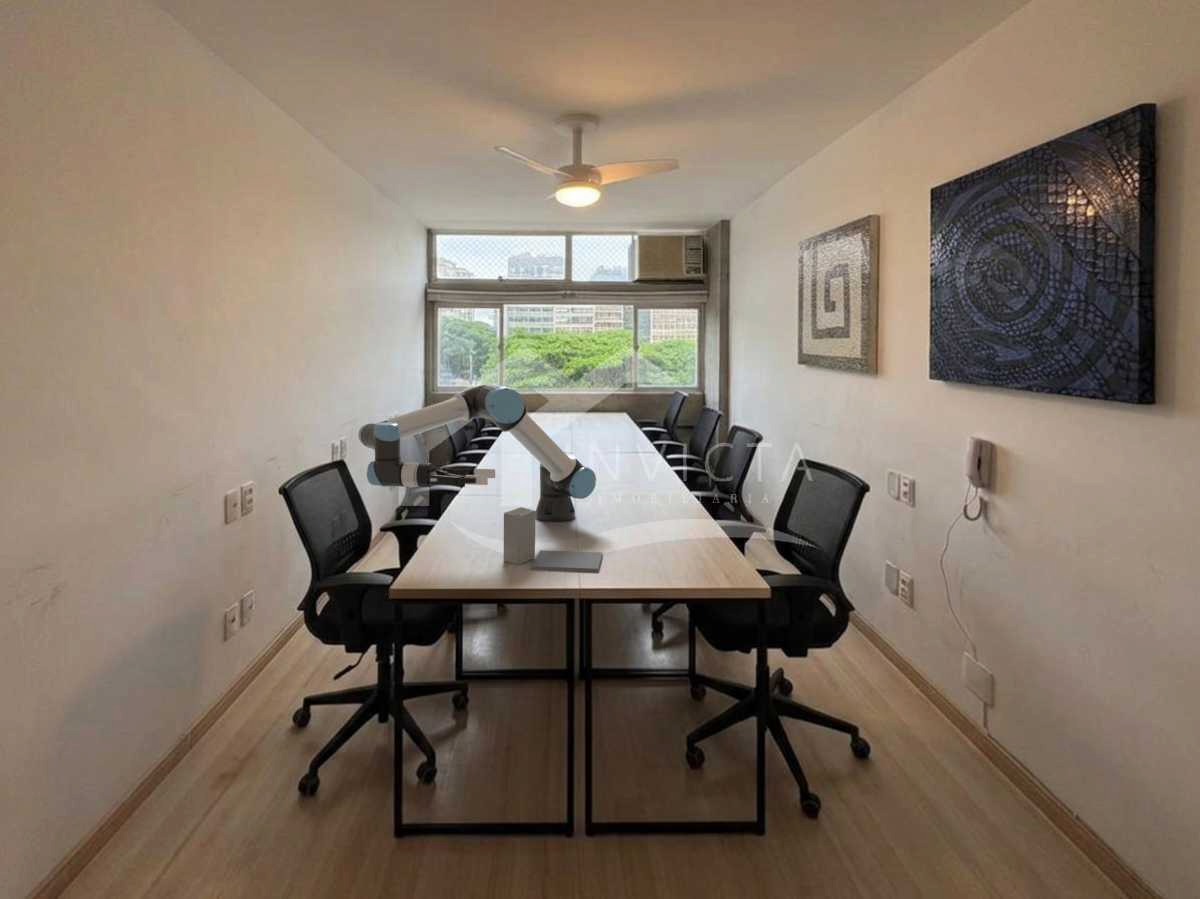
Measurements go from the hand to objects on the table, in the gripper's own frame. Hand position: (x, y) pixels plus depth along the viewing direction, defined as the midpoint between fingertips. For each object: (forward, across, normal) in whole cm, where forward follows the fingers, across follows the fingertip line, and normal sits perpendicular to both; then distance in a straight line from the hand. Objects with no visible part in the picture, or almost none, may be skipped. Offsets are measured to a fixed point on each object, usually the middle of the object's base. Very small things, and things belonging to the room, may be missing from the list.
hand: (491, 476), depth 218 cm
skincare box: (+9, 0, -26) cm, 28 cm away
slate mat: (+24, 0, -26) cm, 35 cm away
